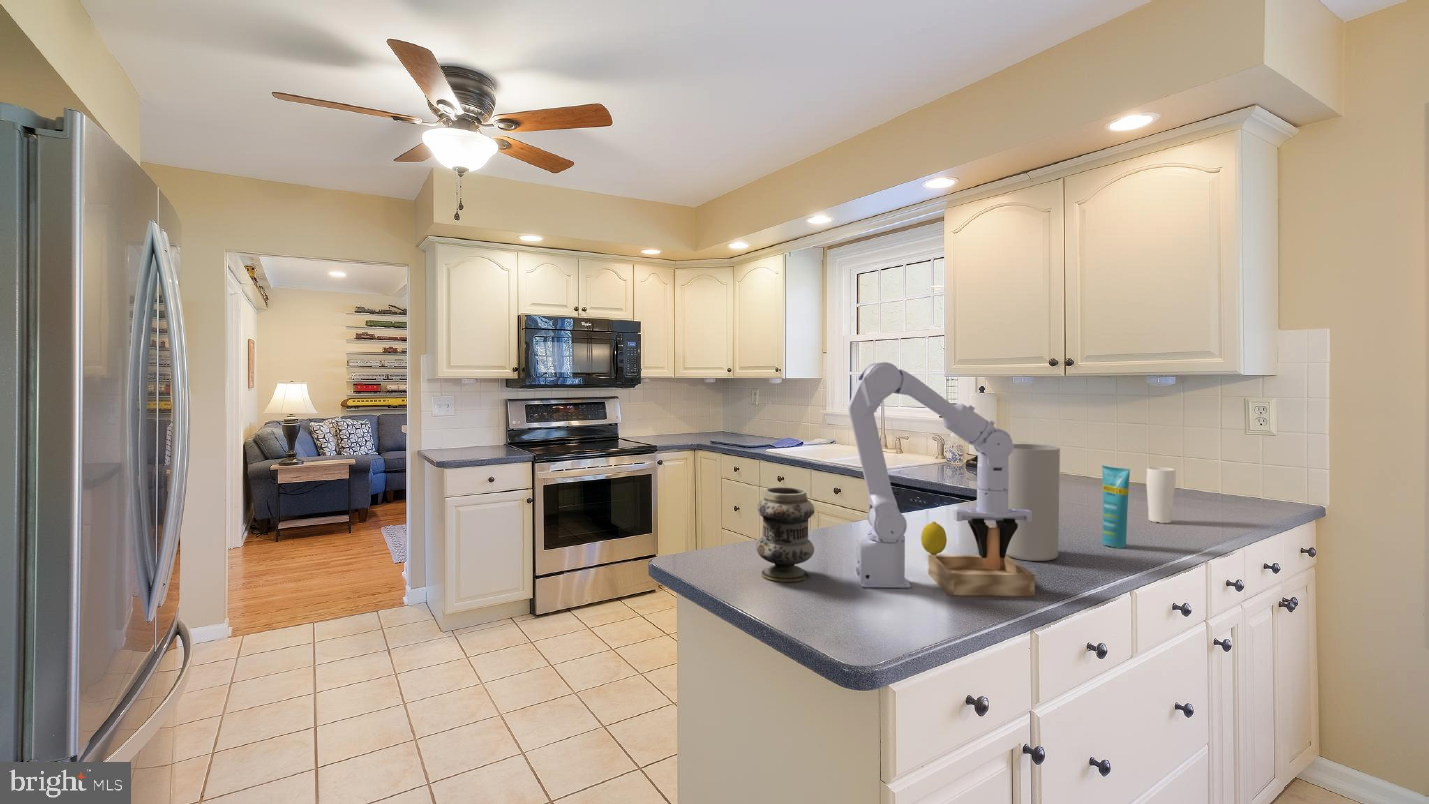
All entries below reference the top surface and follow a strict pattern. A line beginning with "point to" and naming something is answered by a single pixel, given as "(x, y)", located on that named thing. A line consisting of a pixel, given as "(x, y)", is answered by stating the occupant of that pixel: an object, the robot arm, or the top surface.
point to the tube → (1115, 505)
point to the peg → (993, 549)
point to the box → (980, 576)
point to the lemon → (933, 538)
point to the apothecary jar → (785, 533)
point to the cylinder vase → (1035, 501)
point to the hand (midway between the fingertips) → (992, 556)
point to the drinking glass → (1160, 493)
